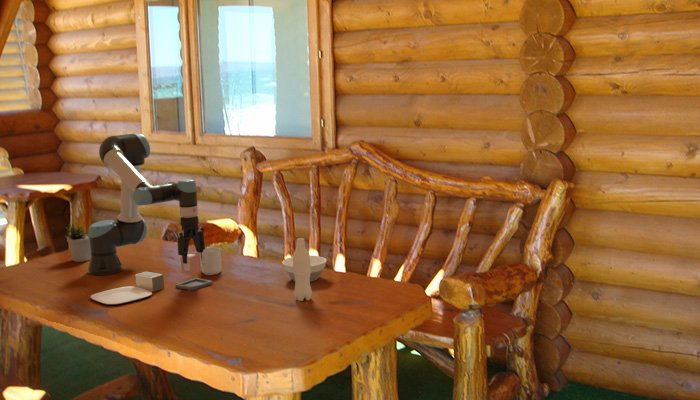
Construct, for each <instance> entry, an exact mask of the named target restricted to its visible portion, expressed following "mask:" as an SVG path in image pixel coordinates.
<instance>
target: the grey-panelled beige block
mask: <svg viewBox="0 0 700 400" xmlns="http://www.w3.org/2000/svg"><path fill="white" fill-rule="evenodd" d="M164 280H165V279H164V274H161V273H158V272H157V273H156V272H150V271H143V272H140V273H136V274H135V287H139V288H142V289H145V290H148V291H150V292H152V293H153V292H157V291H160V290H162V289H165V281H164Z"/></svg>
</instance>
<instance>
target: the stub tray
mask: <svg viewBox="0 0 700 400" xmlns="http://www.w3.org/2000/svg"><path fill="white" fill-rule="evenodd" d="M211 285H213V280H210V279H205V278H204V279H203V278H199V277H195V278H194V277H193V278H191V279H188V280H185V281H183V282H179V283H176V284H175V289H178V290H179V289H180V290H185V291H189V292H192V291H193V292H194V291H196V290H200V289H202V288H206V287H208V286H211Z"/></svg>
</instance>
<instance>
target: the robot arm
mask: <svg viewBox="0 0 700 400" xmlns="http://www.w3.org/2000/svg"><path fill="white" fill-rule="evenodd" d="M150 145H151V144H150V143H149V141H148V139H147V137H146V136H145V135H144V134H142V133H127V134H119V135H111V136H108V137H106V138H105V139H104V140H103V141H102V142H101V144H100V145H99V150H98V154H99V159H100V161H101V162H102V163H103V164H104V166H105V167H107V168H110V169H112V171H113V172H114V173H115V174H116V175H117V176H118V177H119V178H120V179H121V180H120V181H121V183H120V184H121V185H120V212H119V214H118V215H116V222H115V220H112V219H107V220H99V221H96V222H94V223H92V224H90V225H89V227H88V232H89V234H88V235H89V240H90V250H91V259H90V260H89V263H88V264H89V265H88V268H87V269H88V274H89V275H92V276H108V275H114V274H117V273H119V272H121V271H122V270H123V266H122V263H121V260H120V258H119V255H118V251H117V248H119V247H124V246H125V247H126V246H130V245H136V244H137V243H141V242H143V241H144V240H145V239H146V237H147V233H148V226H147V222H146V221H145V219H144V218H143V216H142V215H141V214H140V207H141V206H149V205H154V204H159V203H167V202H174V201H176V202H177V201H178V203H179V215H180V226H181V231H179V232H176V237H177V254H178V256H180V257H181V256H182V258H183V263H184V270H186V271H190V263H189V256H187V255H188V254H189V253H188V252H189V246H190V242H191V239H192V241H193V244H194V248H195V251H194V254H197V255H199V264H200V268H202V264H201V259H202V252H203V250H205V248H206V244H205V236H204V231H205V230H204V229H205V228H204V227H202V226H199V222H200V221H199V216H198V215H199V210H198V209H199V208H198V193H197V192H198V191H197V183H196V180H195V179H189V178H188V179H180V180H178V181H177V182H176V181H175V182H174V181H171V182H169V181H167V182H165V183H164V184H158V185H157V184H156V185H152V184H151V183H150V182H149V181H148V180H147V179H146V178H145V177H144V176H143V174H142V172H141V171H142V167H143V165H145V162H146V161H145V159H147V158H149V157H150V154H151V146H150Z"/></svg>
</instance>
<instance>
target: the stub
mask: <svg viewBox="0 0 700 400" xmlns="http://www.w3.org/2000/svg"><path fill="white" fill-rule="evenodd" d="M187 256H189V263H190V271H186V270H184V263H183V258H182V256H181V255H180V258H179V259H180V267H181V269H180V270H181V273H183V274H187V275H189V274H193V273H197V272H200V271H201V267H200V264H199V255H197V254H195V253H188V254H187Z"/></svg>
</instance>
